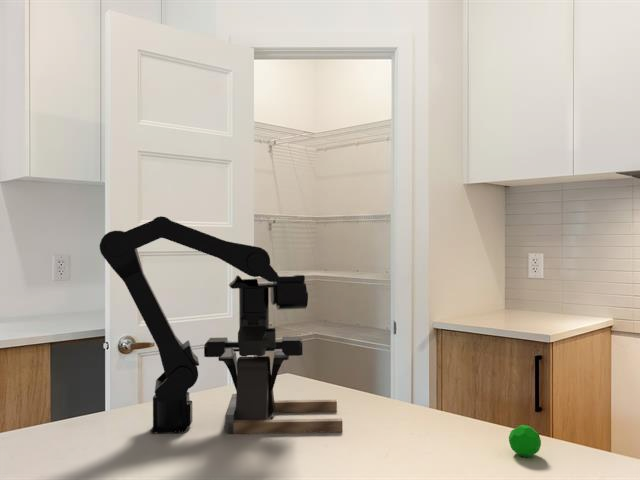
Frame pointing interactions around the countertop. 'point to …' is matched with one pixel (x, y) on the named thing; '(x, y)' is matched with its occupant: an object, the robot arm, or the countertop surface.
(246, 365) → the phone stand
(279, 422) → the guide track
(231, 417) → the end stop
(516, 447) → the polyhedron
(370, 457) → the countertop surface
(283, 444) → the countertop surface
